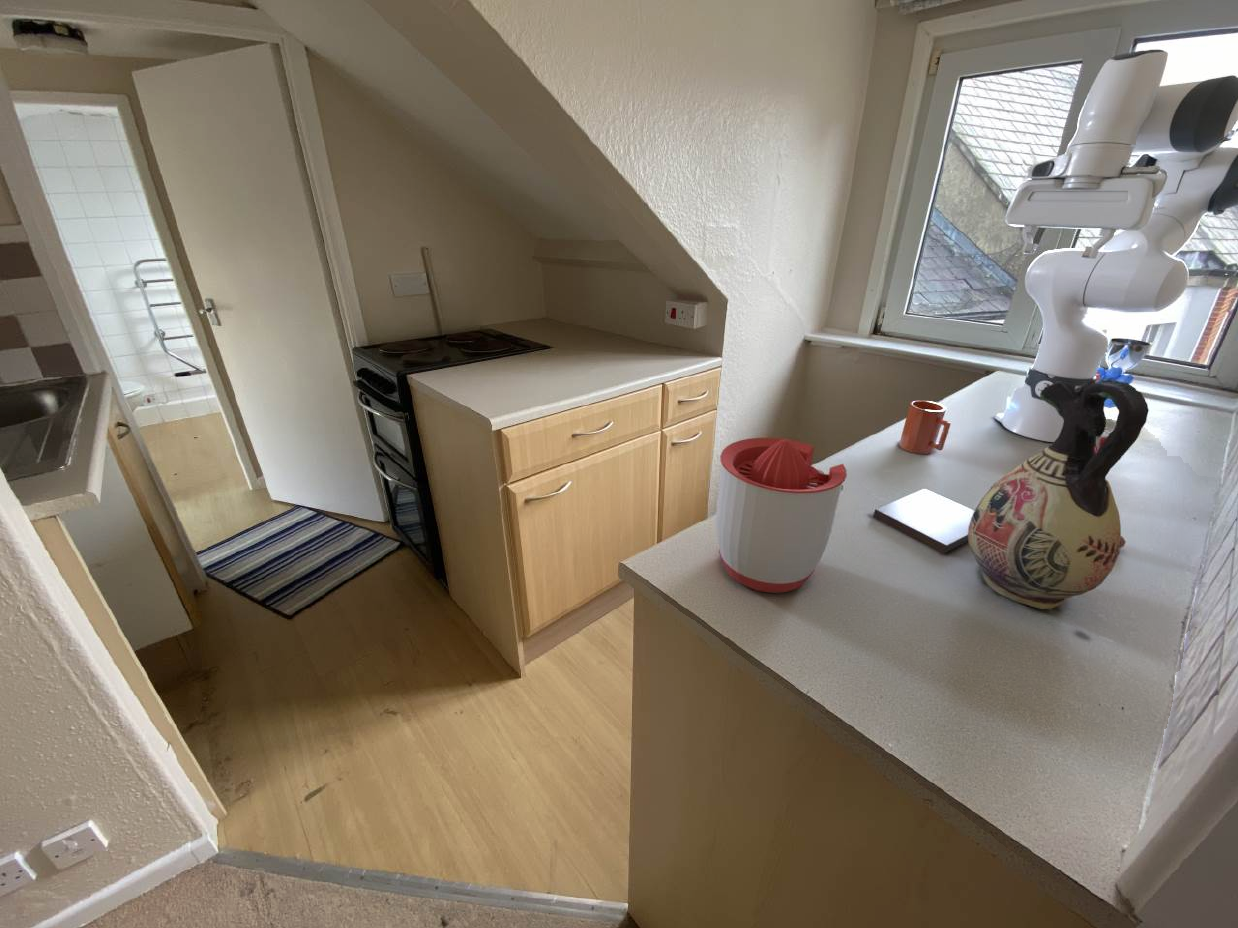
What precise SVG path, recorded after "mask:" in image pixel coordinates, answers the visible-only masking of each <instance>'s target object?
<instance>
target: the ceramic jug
mask: <svg viewBox="0 0 1238 928" xmlns="http://www.w3.org/2000/svg"><path fill="white" fill-rule="evenodd" d="M1040 397H1041V398H1042V399H1043V400H1044V401H1046V402H1047V403H1048V404H1050V405H1051V406H1053V407H1054V408H1055V409H1056V410H1057V412H1058V414H1059V415H1060V416H1061V417H1062V418H1063V420H1064V423H1063V427H1062V430H1061V432H1060V435H1059V436H1058V438H1057V439H1056V440H1055V441H1054V442H1052V443H1051V444H1049V445H1048V446H1047V447H1045V448H1044V449H1043V450H1041V451H1040V452H1038V453H1037V454H1036V455H1033V456H1031V457H1030V458H1028V459H1026V460H1024V461H1023V462H1022V463H1020V464H1019V465H1017V466H1015V467H1014V468H1013V469H1012V470H1011V471H1010V472H1008V473H1007V474H1005V475H1004V476H1003V477H1002V478H1000V479H999V480H998V481H997V482H995V483H994V484H993V485H992V486H991V487H990V489H989V490H988V491H987V492H986V493H985V495H984V496H983V497H982V498H981V500H980V502H979V503H978V505H977V506H976V508H975V510H974V513H973V515H972V517H971V520H970V524H969V529H968V541H967V542H968V547H969V549H970V552H971V554H972V556H973V557H974V559H975V561H976V562H977V564H978V566H979V569H980V570H981V573H982V578H983V580H984V582H985V583H986V585H987V586H988V587H990V588H991V589H992V590H993V591H995V592H996V593H998V594H999V595H1001V596H1002V597H1005V598H1007V599H1009V600H1012V601H1013V602H1016V603H1018V604H1019V603H1020V604H1023V605H1026V606H1029V607H1032V608H1036V609H1039V610H1051V609H1053V608H1056V607H1060V606H1063V605H1064V604H1065V602H1066V599H1069V598H1072V597H1076V596H1077V597H1078V596H1081V595H1084V594H1087V593H1088V592H1091V591H1092V590H1095V589H1097V587H1099V586H1100V585H1101V584H1102V583H1103V582H1105V580H1106V579H1107V577H1108V576H1109V575H1110V574H1111V572H1112V571H1113V569H1114V567H1115V565H1116V563H1117V560H1118V557H1119V555H1120V549H1121V548H1120V544H1121V542H1120V538H1121V536H1122V534H1121V533H1122V532H1121V531H1122V528H1121V527H1122V526H1121V525H1122V524H1121V517H1120V516H1121V515H1120V512H1119V510H1118V506H1117V504H1116V499H1115V497H1114V494H1113V491H1112V488H1111V484H1110V482H1109V481H1108V480H1107V479H1106V477H1107V475H1108V474H1109V472H1110V471H1111V469H1112V468H1113V467H1114V466H1115V465H1116V464H1117V463H1118V462H1119V461H1121V459H1122V458H1123V456H1124V455H1125V454H1126V453H1127V451H1129V449H1130V448H1131V447H1132V446H1133V445H1134V444H1135V442H1136V441H1137V439H1138V438H1139V436H1140V434H1141V432H1142V429H1143V427H1144V426H1145V424H1146V423H1147V420H1148V414H1149V406H1148V403H1147V400H1146V398H1145V397H1144V395H1143V393H1142V392H1141V391H1138V390H1137V389H1136V387H1134V386H1132V385H1131V384H1128V383H1125V382H1120V381H1113V380H1105V381H1100V382H1096V383H1095V381H1094V380H1087V381H1086V382H1085V384H1084V385H1082V386H1081V387H1079V388H1077V389H1075V390H1074V389H1073V388H1072V387H1071V386H1070V385H1069V384H1068V383H1067V382H1063V381H1059V382H1056V383H1054V384H1051V385H1050V386H1048V387H1046V388H1045V389H1044V390H1043V391H1042V392H1041V393H1040ZM1107 398H1109V399H1111V400H1112V401H1113V403H1114V404H1115V406H1116V409H1117V410H1118V414H1117V417H1116V421H1115V427H1114V428H1113V430H1111V431H1110V432H1111V433H1110V434H1109V435H1108V437H1107V438H1106V440H1105V441H1104V442H1103V443H1102V444H1101V447H1100V449H1099V450H1098V451H1097V453H1096V454H1095V453H1094V448H1095V443H1096V437H1100V436H1101V435H1102V434H1103V432H1104V430H1106V426H1107V420H1106V419H1107V418H1106V413H1105V410H1104V409H1105V407H1104V402H1105V400H1106V399H1107Z"/></svg>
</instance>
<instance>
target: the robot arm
mask: <svg viewBox="0 0 1238 928" xmlns="http://www.w3.org/2000/svg"><path fill="white" fill-rule="evenodd" d="M1168 57H1169V53H1168V52H1167V51H1165V50H1164V49H1148V50H1147V49H1146V50H1138V51H1132V52H1125V53H1120V54H1118V55H1115V56H1112V57H1111V58H1108V60H1106V61H1105V62H1104V63H1103V66H1102V67H1100V70H1099V72H1098V73H1097V75H1096V78H1095V79H1094V81H1093V83H1092V85H1091V86H1090V90H1089V92H1088V93H1087V95H1086V98H1085V101H1084V102H1083V106H1082V108H1081V111H1080V113H1079V114H1078V115H1079V116H1078V120H1077V127H1076V131H1075V134H1074V136H1073V137H1072V139H1071V140H1070V142H1069V143H1068V145H1067V147H1066V150H1065V153H1063V154H1060V155H1058V156H1055V157H1052V158H1050V159H1046V160H1044V161H1043V160H1042V161H1040V162H1036V163H1033V164H1031V165H1029V166H1028V167H1027V168H1026V171H1025V175H1024V176H1025V179H1027V180H1025V181H1023V182H1022V183H1021V184H1020V185H1019V186H1018V187H1017V189H1016V190H1015V192H1014V194H1013V196H1012V198H1011V199H1010V200H1011V201H1010V203H1009V205H1008V208H1007V210H1006V213H1005V216H1004V221H1005V223H1006V225H1008V226H1011V227H1022V230H1021V234H1022V239H1023V243H1024V244H1023V247H1022V249H1021V253H1022V254H1023V255H1025V254H1027V255H1034V254H1035V253H1036V249H1037V248H1038V245H1039V243H1034V240H1033V234H1036V233H1037V230H1038V228H1051V229H1052V228H1053V229H1054V228H1055V229H1077V230H1078V229H1079V230H1100V231H1099V233H1098V236H1099V237H1100V238H1099V239H1098V240H1097V241H1096V242H1095V243H1094V244H1092V246H1085V247H1084V248H1078V247H1077V248H1075V247H1073V248H1060V249H1053V250H1047V251H1044V252H1043V253H1041V254H1040V255H1038V256H1037V257H1036V258H1035V259H1034V260H1033V261H1032V262H1031V264H1030V265H1029V267H1028V268H1027V271H1026V273H1025V277H1024V286H1025V290H1026V293H1027V295H1029V296H1030V297H1031V299H1032V300H1033V301H1034V302H1035V303H1036V305H1037V307H1038V309H1039V311H1040V315H1041V319H1042V334H1041V340H1040V343H1039V347H1038V351H1037V353H1036V356H1035V359H1034V362H1033V364H1032V366H1029V369H1028V371H1027V372H1026V374H1025V379H1024V384H1023V385H1020V386H1018V387H1015V388H1014V390H1013V392H1012V394H1011V397H1010V396H1008V397H1007V399H1006V408H1005V410H1004V412H1002V413H997V414H996V416H995V419H996V421H998V422H1000V423H1001V424H1002V426H1003V427H1004V428H1006V429H1007V430H1009V431H1010V432H1012V433H1014V434H1017V435H1020V436H1023V437H1026V438H1030V439H1034V440H1037V441H1042V442H1049V443H1054V441H1055V440H1056V439H1057V438H1058V436H1059V435H1060V432H1061V430H1062V427H1063V423H1064V420H1063V418H1062V417H1061V416H1060V415H1059V414H1058V412H1057V410H1056V409H1055V408H1054V407H1053V406H1051V405H1050V404H1048V403H1047V402H1046V401H1044V400H1043V399H1042V398H1041V397H1040V393H1041V392H1042V391H1043V390H1044V389H1045V388H1046V387H1048V386H1050V385H1051V384H1054V383H1056V382H1059V381H1063V382H1067V383H1068V384H1069V385H1070V386H1071V387H1072V388H1073V389H1074V390H1075V389H1077V388H1079V387H1081V386H1082V385H1084V384H1085V382H1086V381H1087V380H1094V381H1095V383H1096V382H1097V381H1098V379H1099V377H1100V374H1096V373H1097V371H1098V368H1099V367H1101V363H1102V361H1103V360H1104V357H1105V355H1106V352H1107V348H1108V346H1109V340H1108V337H1107V335H1106V334H1105V332H1104V331H1103V330H1102V329H1100V328H1099V327H1098V326H1096V325H1095V324H1093V323H1092V321H1090V319H1089V316H1088V309H1089V308H1091V309H1097V310H1105V311H1111V312H1119V313H1120V312H1121V313H1157V312H1160V311H1162V310H1164V309H1166V308H1168V307H1169V306H1172V304H1174V303H1175V302H1176V301H1177V300H1178V299H1179V298H1180V297H1181V296H1182V295H1183V293H1184V292H1185V290H1186V288H1187V287H1188V283H1189V279H1190V278H1189V277H1190V274H1189V273H1190V272H1189V269H1188V266H1187V265H1186V263H1185V262H1184V260H1182V259H1179V258H1177V257H1174V256H1176V255H1177V254H1178V253H1179V252H1180V251H1181V250H1182V249H1183V248H1184V247H1185V246H1186V245H1187V243H1188V242H1189V241H1190V240H1191V238H1192V237H1193V236H1194V234H1195V232H1196V231H1197V229H1198V226H1199V224H1200V222H1201V220H1202V218H1203V217H1204V216H1205V215H1207V214H1208V213H1209V214H1211V213H1212V214H1213V216H1219V215H1222V214H1224V212H1225V211H1226V210H1228V209H1230V208H1231V209H1232V208H1234V207H1236V206H1238V146H1234V145H1233V146H1231V145H1230V146H1229V145H1224V144H1225V143H1227V142H1230V141H1231V140H1232V139H1234V138H1235V136H1236V135H1237V134H1238V76H1236V75H1233V74H1232V75H1226V76H1219V77H1215V78H1210V79H1206V80H1199V81H1192V82H1183V83H1174V84H1167V85H1161V83H1162V79H1163V76H1164V74H1165V73H1164V72H1165V69H1166V67H1167V62H1168ZM1132 155H1139V156H1138V157H1137V158H1136V159H1135V160H1134V161H1133V162H1132V163H1131V164H1130V165H1129V166H1128V164H1129V162H1130V160H1131V157H1132Z"/></svg>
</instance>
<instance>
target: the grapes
mask: <svg viewBox="0 0 1238 928" xmlns="http://www.w3.org/2000/svg"><path fill="white" fill-rule="evenodd" d="M1122 372H1123V370H1122V368H1121V367H1117V366H1115V367H1111V368H1110V367H1108V369H1105V368H1104V367H1101V366H1099V368H1098V371H1097V373H1096V374H1100V377H1099V379H1098V381H1097V382H1100V381H1105V380H1113V381H1120V382H1125V383H1128V384H1129V385H1131V384H1132V383H1133V381H1134V380H1135V379H1134V376H1133V375H1132V374H1130V373H1122ZM1115 407H1116V406H1115V404H1114V403H1113V401H1112V400H1111V399H1109V398H1107V399H1106V400H1105V402H1104V408H1108V409H1111V408H1115ZM1116 408H1117V407H1116Z"/></svg>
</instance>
